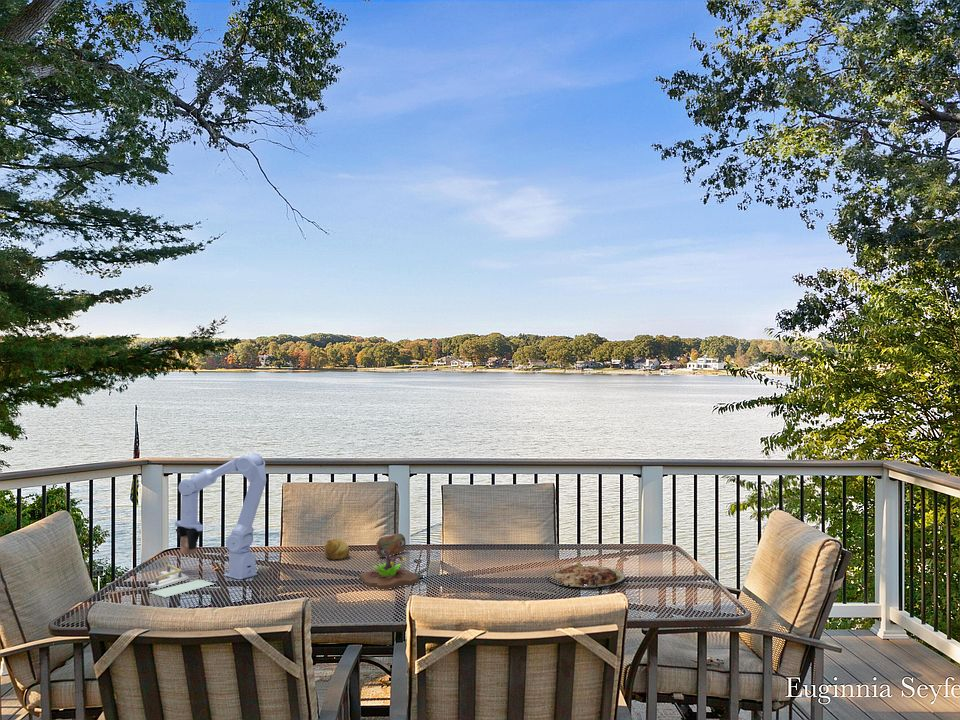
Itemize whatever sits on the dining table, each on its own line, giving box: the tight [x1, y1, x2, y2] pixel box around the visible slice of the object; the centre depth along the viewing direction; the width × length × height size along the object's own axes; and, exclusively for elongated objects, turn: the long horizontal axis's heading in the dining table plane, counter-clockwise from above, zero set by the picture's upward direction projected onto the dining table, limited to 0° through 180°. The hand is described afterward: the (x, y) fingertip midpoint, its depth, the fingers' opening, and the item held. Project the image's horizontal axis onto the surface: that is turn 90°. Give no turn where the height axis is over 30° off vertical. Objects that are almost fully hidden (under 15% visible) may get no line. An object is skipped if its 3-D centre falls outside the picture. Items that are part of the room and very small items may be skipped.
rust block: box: [179, 536, 198, 555], centre depth 264 cm, size 4×4×6 cm
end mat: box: [149, 579, 216, 599], centre depth 243 cm, size 9×19×1 cm, turn 146°
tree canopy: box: [375, 533, 407, 558], centre depth 293 cm, size 15×3×8 cm, turn 143°
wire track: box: [147, 563, 190, 590], centre depth 253 cm, size 17×17×4 cm
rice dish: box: [546, 562, 626, 589], centre depth 259 cm, size 28×28×5 cm
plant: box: [358, 550, 420, 589], centre depth 255 cm, size 20×20×11 cm
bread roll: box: [324, 538, 350, 560], centre depth 289 cm, size 13×10×8 cm
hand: (188, 548), depth 264 cm, fingers closed on rust block, 4 cm apart
